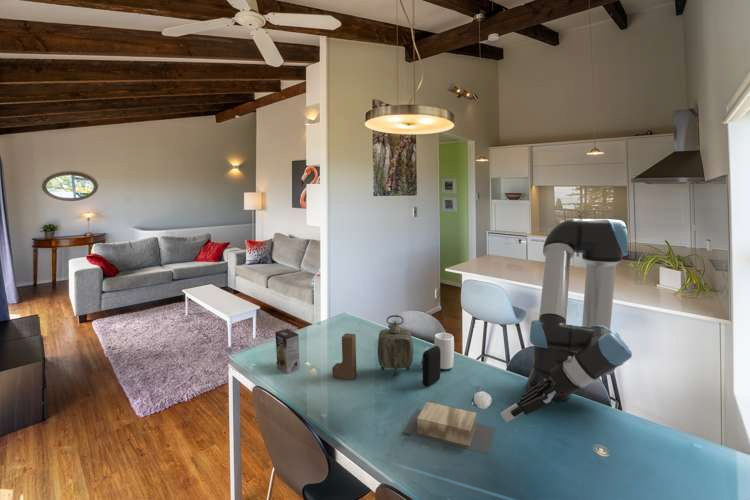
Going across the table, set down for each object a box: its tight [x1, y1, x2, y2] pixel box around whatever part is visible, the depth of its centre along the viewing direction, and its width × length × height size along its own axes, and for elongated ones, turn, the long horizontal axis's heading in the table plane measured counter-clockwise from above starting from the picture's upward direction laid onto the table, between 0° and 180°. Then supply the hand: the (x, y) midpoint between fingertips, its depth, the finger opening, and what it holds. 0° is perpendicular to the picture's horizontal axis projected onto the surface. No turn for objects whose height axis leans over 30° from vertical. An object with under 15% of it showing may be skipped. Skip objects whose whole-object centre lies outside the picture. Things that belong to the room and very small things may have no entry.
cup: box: [433, 332, 455, 370], centre depth 164 cm, size 8×8×14 cm
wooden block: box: [331, 332, 357, 381], centre depth 157 cm, size 9×4×18 cm, turn 72°
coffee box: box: [274, 328, 301, 375], centre depth 165 cm, size 9×6×16 cm
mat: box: [402, 408, 496, 456], centre depth 121 cm, size 26×14×1 cm, turn 65°
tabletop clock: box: [377, 314, 414, 377], centre depth 158 cm, size 14×9×25 cm, turn 88°
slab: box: [417, 401, 477, 446], centre depth 121 cm, size 5×10×16 cm
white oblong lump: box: [473, 387, 492, 410], centre depth 138 cm, size 12×6×6 cm, turn 163°
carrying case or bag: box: [421, 345, 441, 388], centre depth 150 cm, size 11×3×15 cm, turn 134°
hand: (504, 417), depth 113 cm, fingers closed
